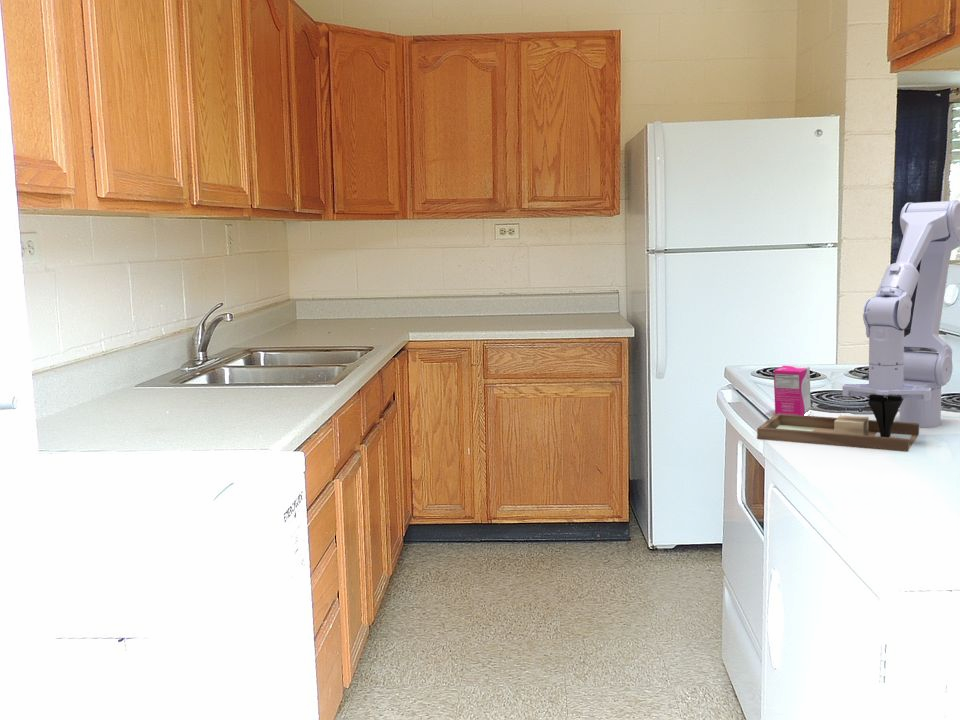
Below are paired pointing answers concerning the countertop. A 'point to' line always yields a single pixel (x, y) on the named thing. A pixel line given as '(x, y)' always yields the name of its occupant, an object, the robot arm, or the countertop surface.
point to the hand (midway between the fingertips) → (885, 436)
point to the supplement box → (792, 390)
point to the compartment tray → (823, 433)
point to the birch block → (851, 425)
